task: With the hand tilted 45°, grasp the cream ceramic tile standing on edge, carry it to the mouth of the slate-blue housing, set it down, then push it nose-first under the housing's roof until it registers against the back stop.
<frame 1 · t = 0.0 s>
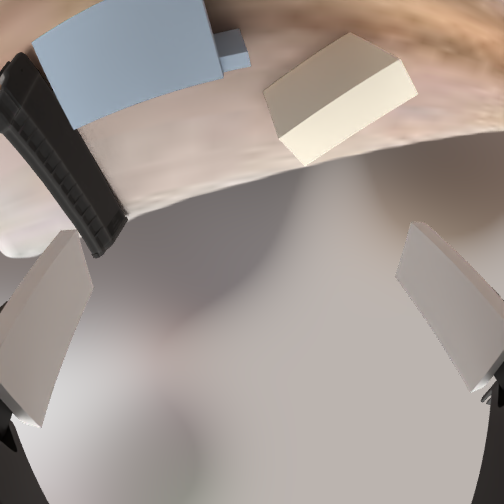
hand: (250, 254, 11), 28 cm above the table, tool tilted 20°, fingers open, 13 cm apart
tile: (315, 72, 31), on the table
housing: (186, 16, 24), on the table
magazine: (73, 139, 34), on the table
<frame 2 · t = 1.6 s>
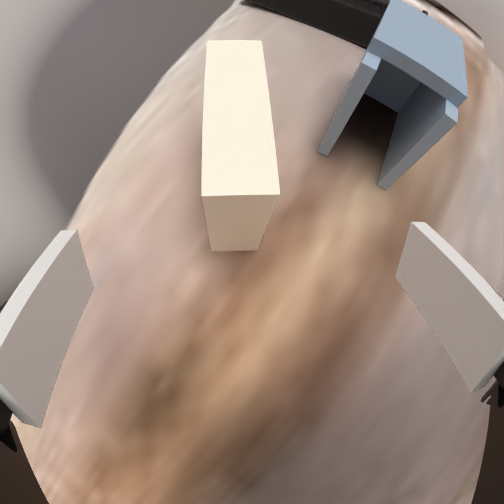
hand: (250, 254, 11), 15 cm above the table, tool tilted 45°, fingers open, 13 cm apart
tile: (231, 184, 28), on the table
housing: (364, 138, 31), on the table
magazine: (331, 31, 37), on the table
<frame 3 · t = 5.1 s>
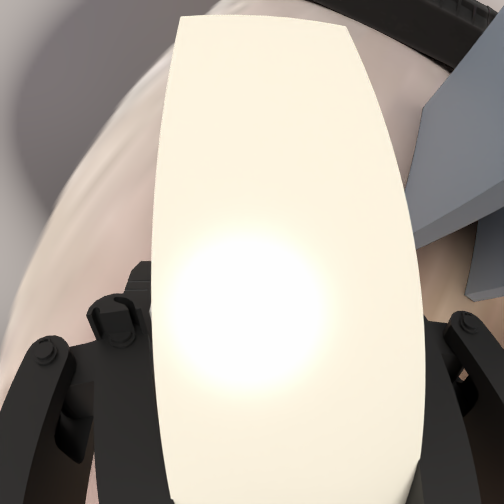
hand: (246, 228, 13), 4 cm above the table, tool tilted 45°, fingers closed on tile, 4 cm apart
tile: (245, 321, 16), on the table, touching gripper
housing: (450, 214, 18), on the table
magazine: (379, 28, 24), on the table
when the fingers open (5 cm above the table, at t = 10.0 s): tile drops 1 cm, on the table.
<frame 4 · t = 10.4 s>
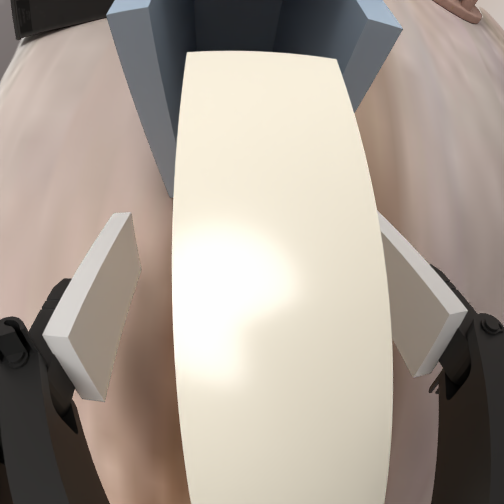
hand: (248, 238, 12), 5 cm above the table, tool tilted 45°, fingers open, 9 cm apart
tile: (244, 322, 17), on the table
housing: (235, 129, 20), on the table
magazine: (136, 8, 23), on the table
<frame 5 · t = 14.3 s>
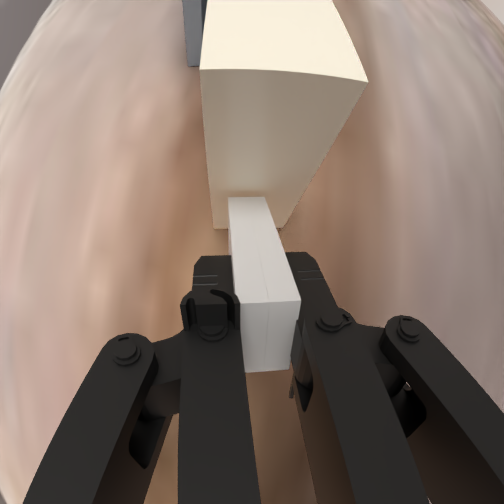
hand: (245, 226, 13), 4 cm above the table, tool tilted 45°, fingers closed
tile: (244, 134, 19), on the table, touching gripper
housing: (240, 32, 22), on the table
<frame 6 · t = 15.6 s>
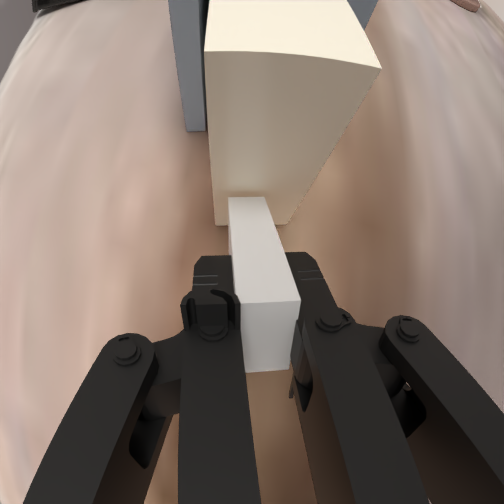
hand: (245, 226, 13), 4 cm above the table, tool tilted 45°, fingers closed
tile: (247, 129, 18), on the table, touching gripper
housing: (249, 78, 20), on the table
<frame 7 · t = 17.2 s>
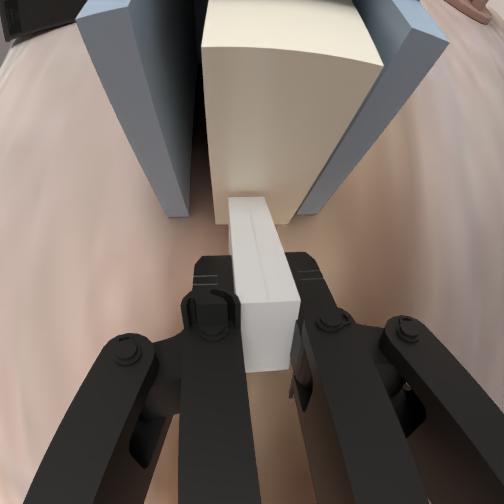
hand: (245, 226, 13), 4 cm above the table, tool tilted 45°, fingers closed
tile: (249, 128, 18), on the table, touching gripper, housing
housing: (240, 140, 18), on the table
magazine: (129, 5, 22), on the table
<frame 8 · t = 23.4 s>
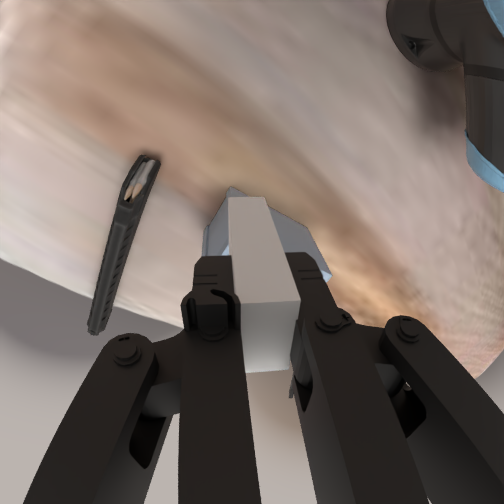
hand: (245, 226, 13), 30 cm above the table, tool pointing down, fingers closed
housing: (267, 234, 48), on the table
magazine: (124, 238, 46), on the table
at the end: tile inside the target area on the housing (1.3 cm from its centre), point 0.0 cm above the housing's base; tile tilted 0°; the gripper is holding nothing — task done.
